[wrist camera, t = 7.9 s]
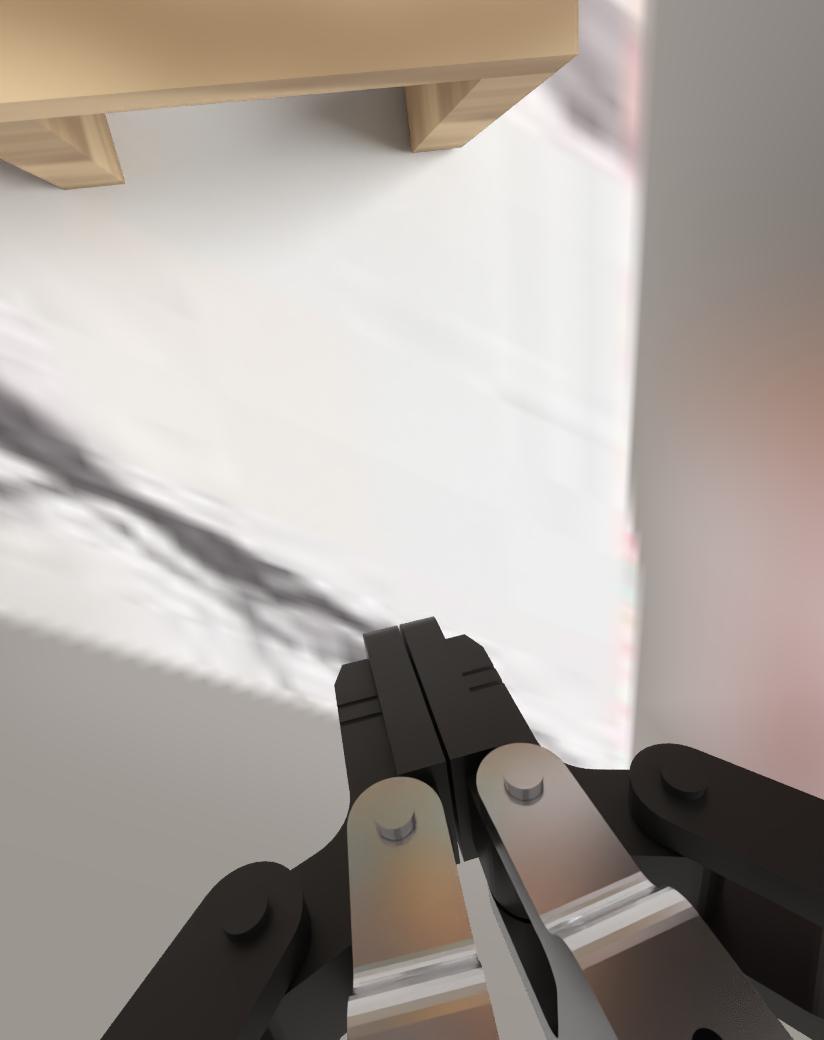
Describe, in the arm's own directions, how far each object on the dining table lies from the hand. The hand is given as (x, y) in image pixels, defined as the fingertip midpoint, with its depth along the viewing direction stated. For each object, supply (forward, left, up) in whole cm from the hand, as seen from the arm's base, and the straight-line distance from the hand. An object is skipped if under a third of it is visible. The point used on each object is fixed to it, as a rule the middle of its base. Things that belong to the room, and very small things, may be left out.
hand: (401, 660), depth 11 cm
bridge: (-13, 0, -15) cm, 20 cm away
